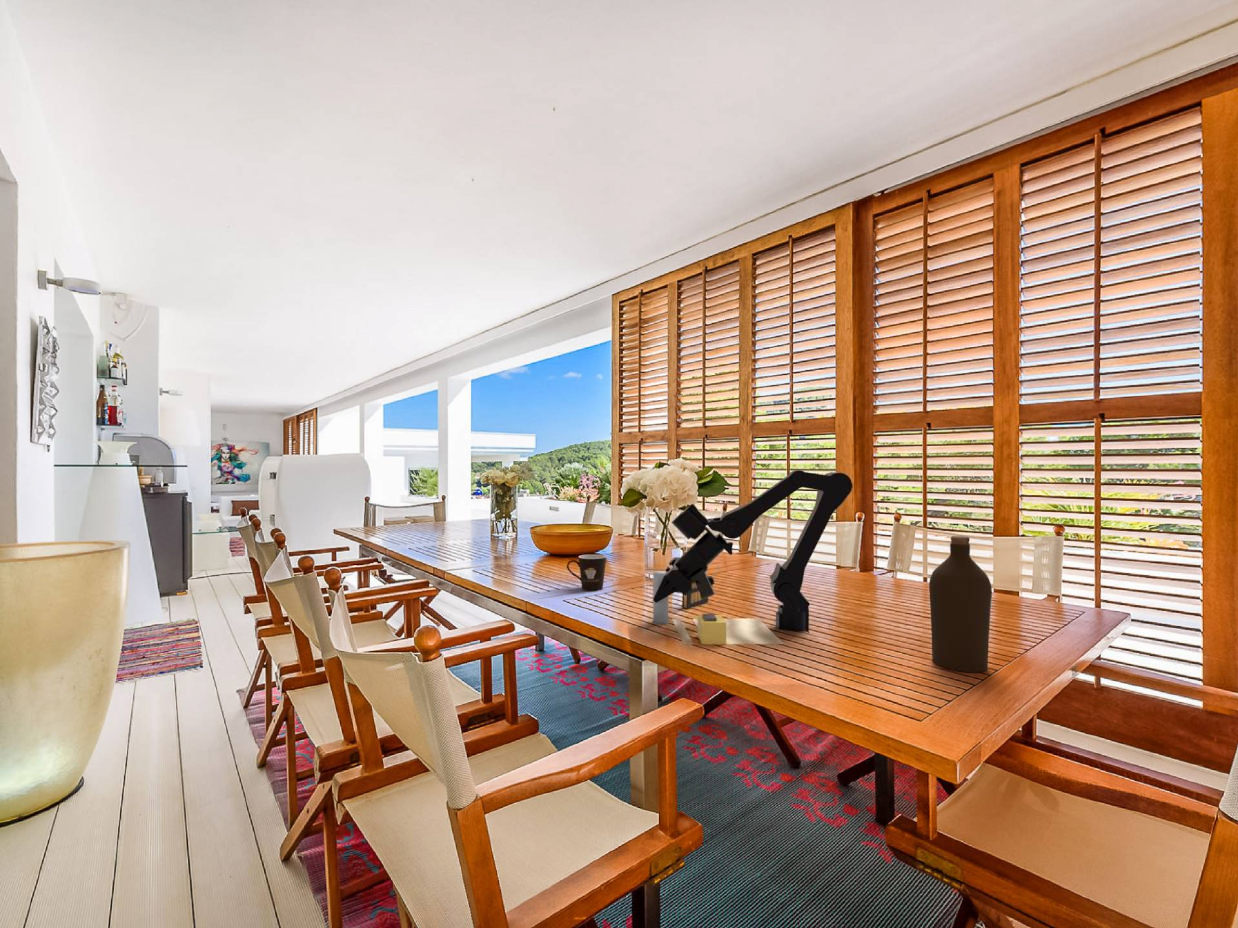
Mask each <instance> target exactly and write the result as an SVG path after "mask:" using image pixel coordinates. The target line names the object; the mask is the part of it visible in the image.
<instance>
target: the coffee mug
mask: <svg viewBox="0 0 1238 928" xmlns="http://www.w3.org/2000/svg"><path fill="white" fill-rule="evenodd" d="M606 562H607V556H606V555H603V554H582V555H579V556H578V561H577V560H575V559H572V560H569V561H567V565H566V569H567V570H568V572H569V573H570V574H571V575H573V576H574V577H576V578H577V579H578V580H579V581H580V582H581V589H583V590H582V591H585V590H587V592H597V591H598V590H599V591H602V590H603V588H604V579H605V570H606ZM571 563H576V564H577V566H578V567H579V572H580V573H579V574H580V576H579V575H577V574H576V573H575V572H573V571H572V570H571V569H570V564H571ZM599 591H598V592H599Z"/></svg>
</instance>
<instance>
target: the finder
mask: <svg viewBox="0 0 1238 928" xmlns="http://www.w3.org/2000/svg"><path fill="white" fill-rule="evenodd" d="M697 619H698V627H697V638H698V639H699V640H700V642H701V644H702V645H727V644H726V621H725V620H724V619H725V618H723V616H722V615H720V614H714V613H702V614H699V615H698V614H697Z"/></svg>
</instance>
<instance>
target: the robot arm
mask: <svg viewBox="0 0 1238 928" xmlns="http://www.w3.org/2000/svg"><path fill="white" fill-rule="evenodd" d="M853 486H854V485H853V481H852V480H851V478H850V476H849V475H847V474H846V473H844V472H838V471H837V472H835V471H832V472H831V471H830V472H828V473H825V474H820V473H815V472H814V473H813V472H809V471H808V472H807V471H803V470H801V469H794V470H792V471H790V472H789V474H788V475H787V476H785V477H784V478H782V479H781V480H779V481H778V482H777V483H775V484H774V485H772V486H771V487H770V488H768V489H766V490H765V491H764V492H762V493H761V494H759V495H757V497H755V498H753V499H752V500H751V501H749V502H747V503H745V504H742V505H740V506H737V507H735V508H734V509H731V510H729V511H727V512H725V513H723V514H722V515H721V516H719V517H711V518H707V517H706V516H705V515H704V514H703V513H702V512H701V511H700V510H699V509H698V507H697V506H696V505H695V503H691V504H690V505H689V506H687V507H686V508H685V510H682V511H681V512H680V513H679V514H678V515H676V517H675V518H674V519H673V520H672V521H671V524H672V525H673V526H674V527H675V528H676V529H677V530H678V531H679V532H680V533H681V534H682V535H683V536H684V537H685V538H686V539H687V540H690V539H691V540H694V541H695V540H696V539H698V538H699V537H700V536H701V535H702V534H703V533H704V532H705V531H706V532H705V533H704V534H703V535H702V536H701V537H700V538H699V539H698V540H697V541H695V542H694V544H693V545H691V546H689V547H688V548H687V549H686V552H685V553H683V554H682V555H681V556H680V557H677V556H675V557H673V558H672V559H671V560H670V561H669V562H668V565H669V566H672V567H669V566H666V568H665V570H664V571H665V572H666V573H665V575H664V577H663V579H662V582H661V584H660V586H659V588H658V590H657V592H656V594H655V596H654V598H653V597H652V601H654V602H655V603H657V602H659V601H660V600H662V599H664V598H666V597H667V596H669V597H670V596H671V595H672V594H675V593H677V594H678V593H679V594H680V593H681V594H682V595H683V594H684V595H685V596H686V595H687V594H688V593H689V592H690V591H691V590H692V583H694V582H695V583H696V586H697V588H698V590H699V592H700V596H701V598H702V600H703V599H706V598H708V599H709V598H710V597H712V596H714V595H715V590H714V588H713V586H714V584H715V580H714V577H713V576H712V575H708V574H706V573H707V570H708V568H709V567H708V566H709V565H710V564H711V563H712V562H713V561H714V560H715V559H716V558H717V557H718V556H720V554H721V553H722V552H724V551H726V553H727V554H728V555H730V556H732V555H733V546H734V543H733V541H727V540H726V539H725V538H724V537H726V538H727V539H732V540H735V539H738V538H739V537H742V535H744V533H745V532H746V531H747V530H748V529H749V528H750V527H751V526H752V525H753V524H754V523H755V521H757V519H758V518H760V517H761V516H762V515H763V514H765V513H766V512H768V511H769V510H770V509H772V508H773V507H775V506H776V505H778V504H779V503H780V502H782V501H783V500H785V499H787V498H788V497H789V496H790V495H791V496H792V494H793V493H795V492H796V491H798V490H799V489H801V488H805V489H811V490H817V492H816V499H815V504H814V506H813V508H812V510H811V512H810V515H809V516H808V518H807V521H806V523H805V525H804V527H803V529H802V531H801V532H800V535H799V537H798V539H797V541H796V543H795V545H794V547H793V549H792V551H791V553H790V555H789V557H788V559H786V561H785V562H783V564H780V562H776V563H775V566H774V570H773V572H772V574H770V575H769V580H770V583H769V586H770V590H771V592H772V594H773V596H774V597H775V598H776V600H777V601H779V602H780V603H781V605H780V604H778V605H777V611H776V612H775V627H776V628H777V629H778V630H781V631H789V632H804V631H805V632H806V633H808V635H810V636H812V634H811V633H810V608H809V607H810V601H809V600H808V599H807V597H806V596H805V595H804V594H803V593H802V592H801V589H802V585H803V583H804V578H805V571H806V568H807V565H808V564H809V561H810V559H811V558H812V555H813V553H814V551H815V550H816V547H817V546H818V544H819V541H820V539H821V537H822V535H823V533H824V531H825V530H826V527H827V525H828V524H829V521H830V520H831V518H832V515H833V514H834V513H835V511H836V510H837V509H839V507H840V506H841V505H843V503H845V502H844V501H846V499H847V497H848V496H849V495H850V493H852V489H853V488H854V487H853ZM709 528H710V529H711V530H710V529H709ZM713 532H717V534H716V535H715V534H714V533H713ZM718 532H719V533H718ZM720 533H721V534H722V535H723V536H722V535H721V534H720ZM705 571H706V573H705Z"/></svg>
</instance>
